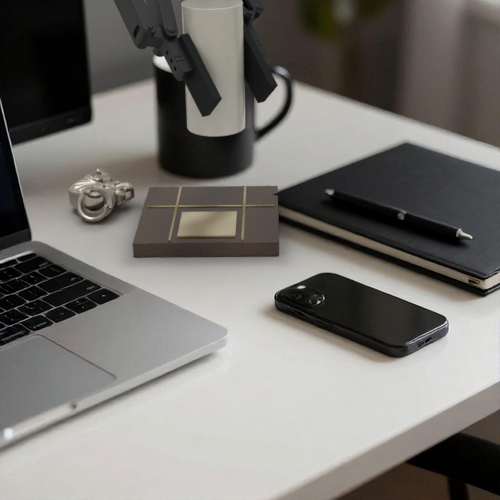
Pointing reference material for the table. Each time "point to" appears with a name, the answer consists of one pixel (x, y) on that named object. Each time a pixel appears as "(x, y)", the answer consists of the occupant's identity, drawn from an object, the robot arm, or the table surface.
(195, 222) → the board
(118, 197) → the ornament
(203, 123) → the white cylinder
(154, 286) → the table surface
